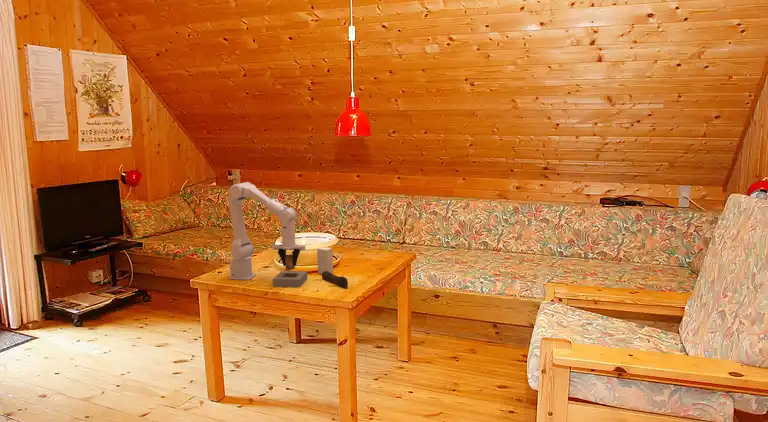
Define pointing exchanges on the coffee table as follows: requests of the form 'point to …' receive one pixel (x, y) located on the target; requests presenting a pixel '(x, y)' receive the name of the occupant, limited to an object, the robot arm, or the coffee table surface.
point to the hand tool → (335, 279)
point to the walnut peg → (289, 262)
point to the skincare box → (325, 260)
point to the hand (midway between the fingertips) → (289, 265)
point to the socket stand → (290, 279)
